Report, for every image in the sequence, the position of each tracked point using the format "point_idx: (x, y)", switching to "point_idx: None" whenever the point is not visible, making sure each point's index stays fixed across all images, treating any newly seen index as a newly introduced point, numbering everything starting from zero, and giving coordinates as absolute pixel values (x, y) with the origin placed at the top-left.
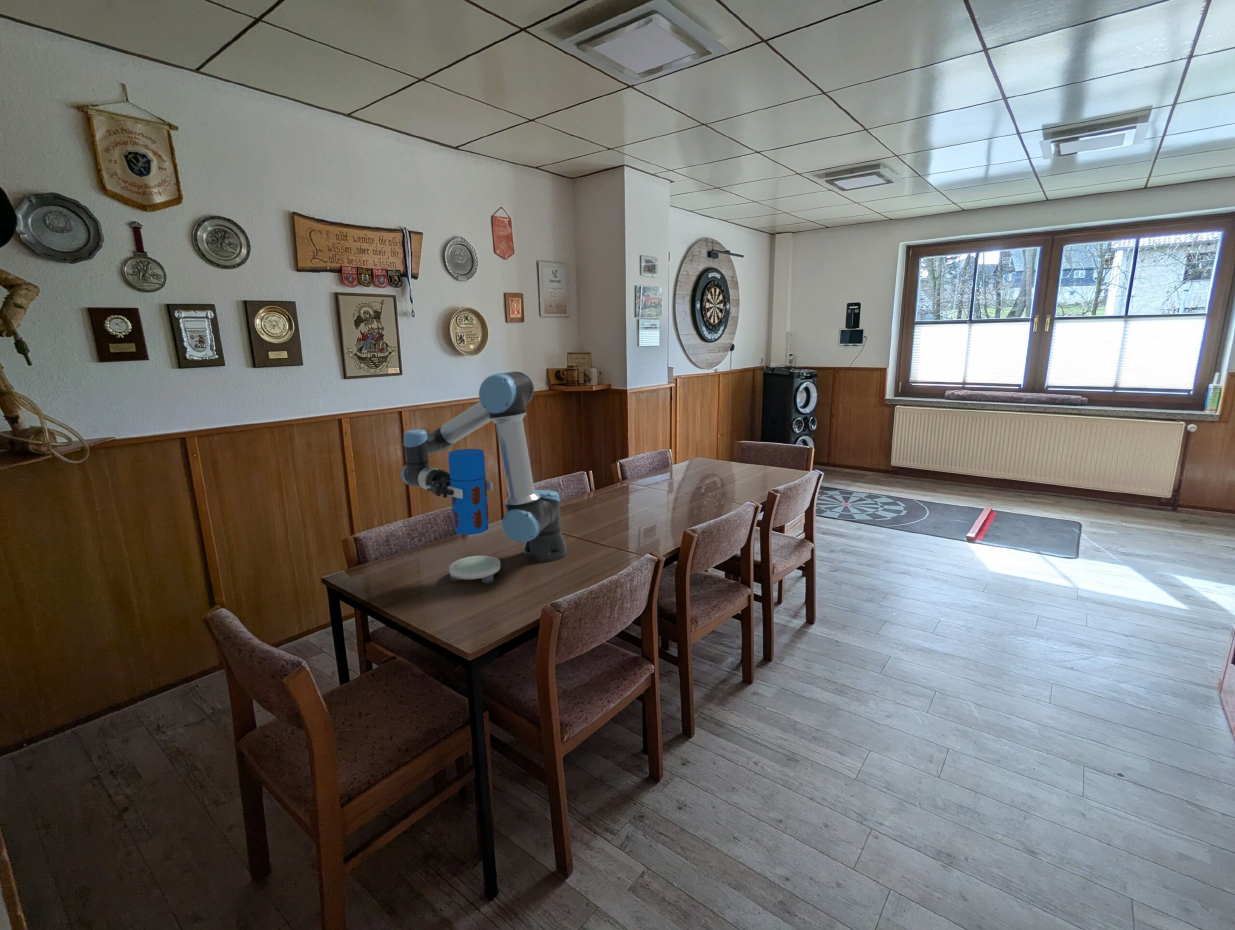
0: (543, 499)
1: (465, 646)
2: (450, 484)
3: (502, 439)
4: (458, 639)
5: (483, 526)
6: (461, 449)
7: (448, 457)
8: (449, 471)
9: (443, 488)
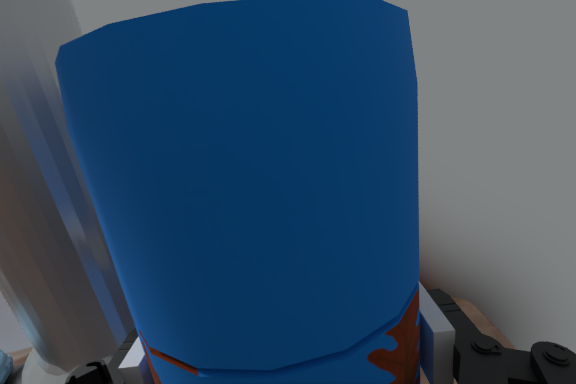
0: (13, 366)
1: (468, 308)
2: (419, 326)
3: (73, 33)
4: (477, 326)
5: None
6: (122, 27)
7: (413, 63)
8: (417, 215)
9: (493, 345)
